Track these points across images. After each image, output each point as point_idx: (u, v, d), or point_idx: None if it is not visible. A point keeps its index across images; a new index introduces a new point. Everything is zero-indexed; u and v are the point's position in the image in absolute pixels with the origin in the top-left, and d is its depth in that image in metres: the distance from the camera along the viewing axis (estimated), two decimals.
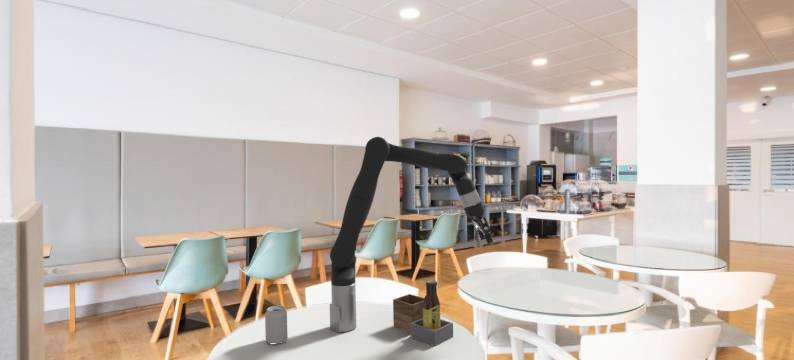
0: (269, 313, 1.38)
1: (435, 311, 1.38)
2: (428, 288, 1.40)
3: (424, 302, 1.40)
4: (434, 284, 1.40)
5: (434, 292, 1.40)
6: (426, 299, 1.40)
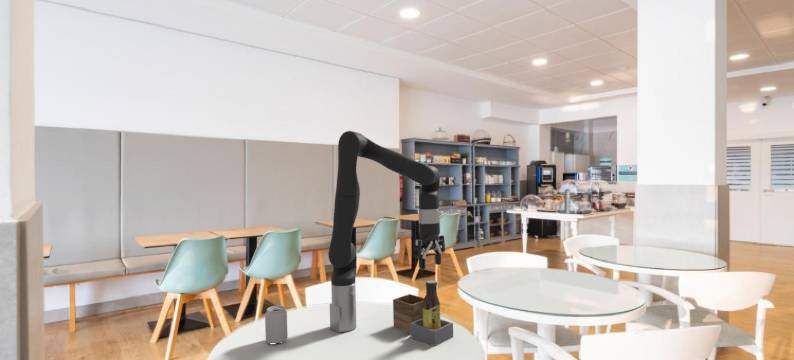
0: (269, 313, 1.38)
1: (435, 311, 1.38)
2: (428, 288, 1.40)
3: (424, 302, 1.40)
4: (434, 284, 1.40)
5: (434, 292, 1.40)
6: (426, 299, 1.40)
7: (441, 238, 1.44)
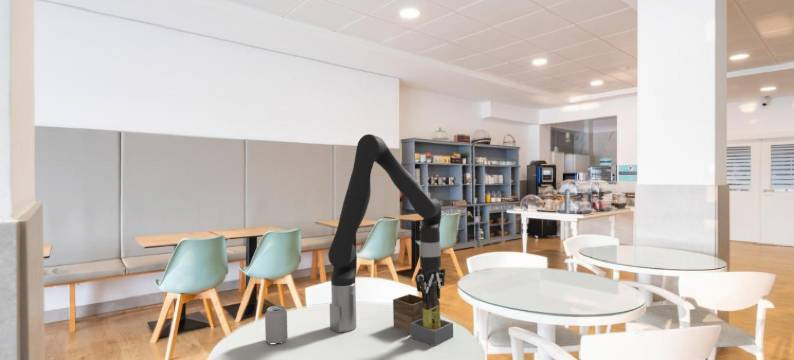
0: (269, 313, 1.38)
1: (435, 311, 1.38)
2: None
3: None
4: (434, 284, 1.40)
5: (434, 292, 1.40)
6: None
7: (442, 271, 1.44)
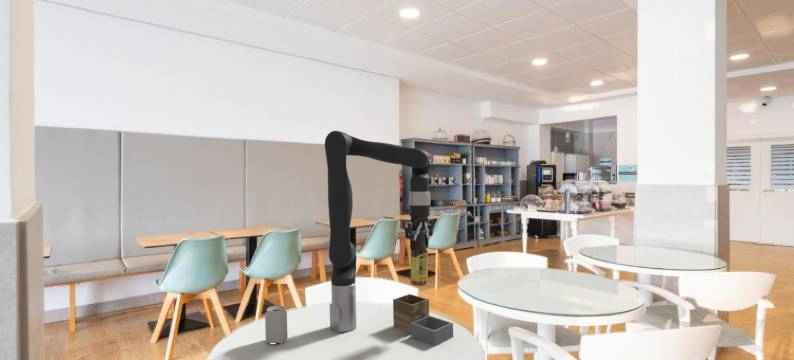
0: (269, 313, 1.38)
1: (422, 258, 1.43)
2: None
3: (412, 250, 1.44)
4: (422, 232, 1.44)
5: (422, 240, 1.44)
6: None
7: (431, 222, 1.49)
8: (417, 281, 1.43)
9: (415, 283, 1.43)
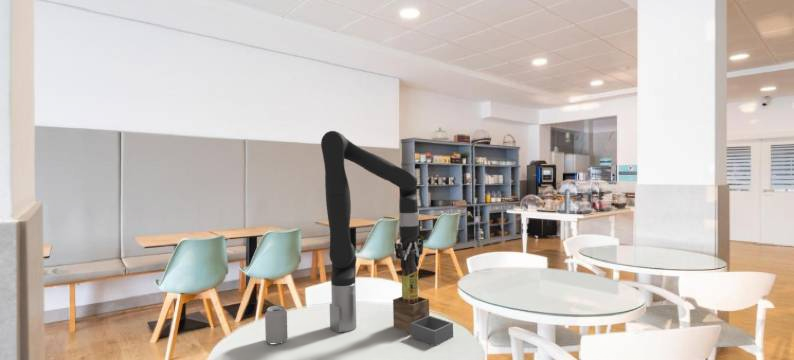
0: (269, 313, 1.38)
1: (413, 277, 1.48)
2: None
3: None
4: (412, 252, 1.49)
5: (412, 259, 1.50)
6: None
7: (420, 241, 1.54)
8: (408, 299, 1.48)
9: (406, 301, 1.48)
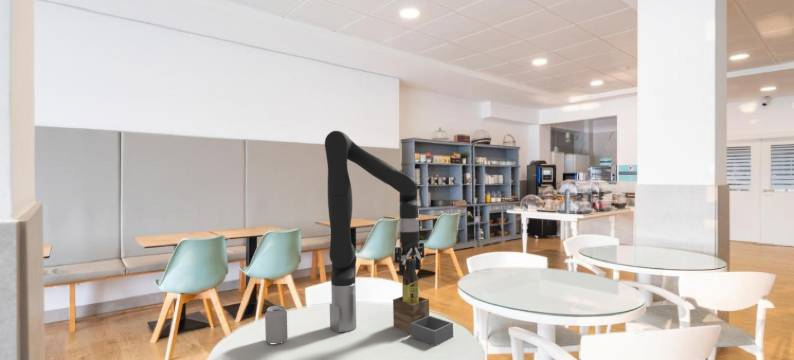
0: (269, 313, 1.38)
1: (413, 286, 1.48)
2: (407, 265, 1.50)
3: (403, 278, 1.50)
4: (413, 261, 1.50)
5: (413, 269, 1.50)
6: (405, 275, 1.50)
7: (421, 245, 1.54)
8: None
9: None
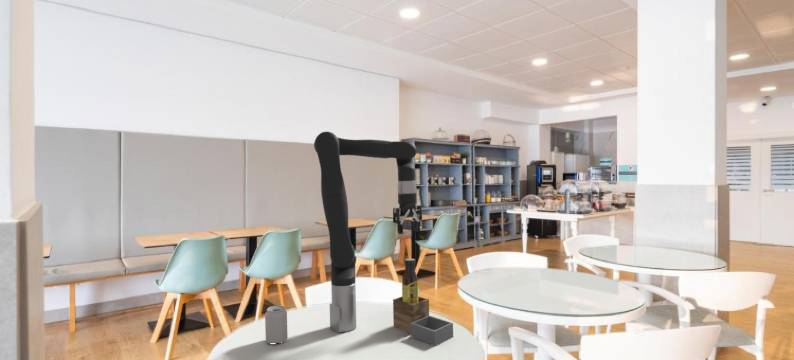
0: (269, 313, 1.38)
1: (413, 286, 1.48)
2: (407, 265, 1.50)
3: (403, 278, 1.50)
4: (412, 261, 1.49)
5: (412, 269, 1.50)
6: (405, 275, 1.49)
7: (418, 208, 1.61)
8: None
9: None
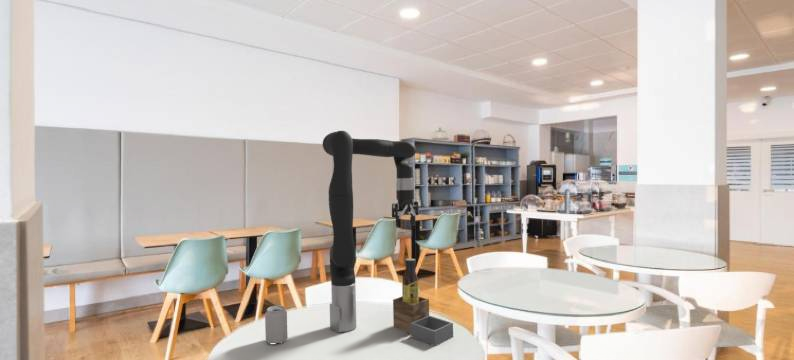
0: (269, 313, 1.38)
1: (413, 286, 1.48)
2: (407, 265, 1.50)
3: (403, 278, 1.50)
4: (412, 261, 1.50)
5: (412, 269, 1.50)
6: (405, 275, 1.50)
7: (415, 203, 1.72)
8: None
9: None
